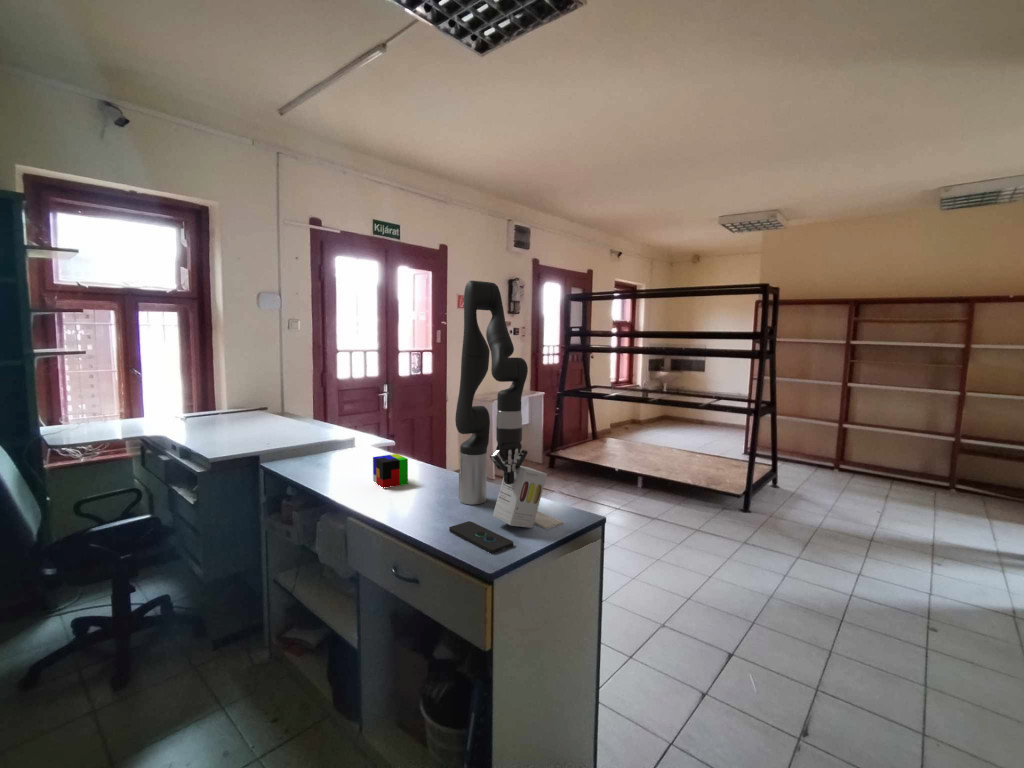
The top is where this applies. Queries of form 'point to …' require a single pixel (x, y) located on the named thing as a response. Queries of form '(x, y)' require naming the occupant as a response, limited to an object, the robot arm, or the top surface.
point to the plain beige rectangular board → (546, 521)
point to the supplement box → (520, 497)
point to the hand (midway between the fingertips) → (508, 483)
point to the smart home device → (481, 537)
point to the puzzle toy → (390, 470)
